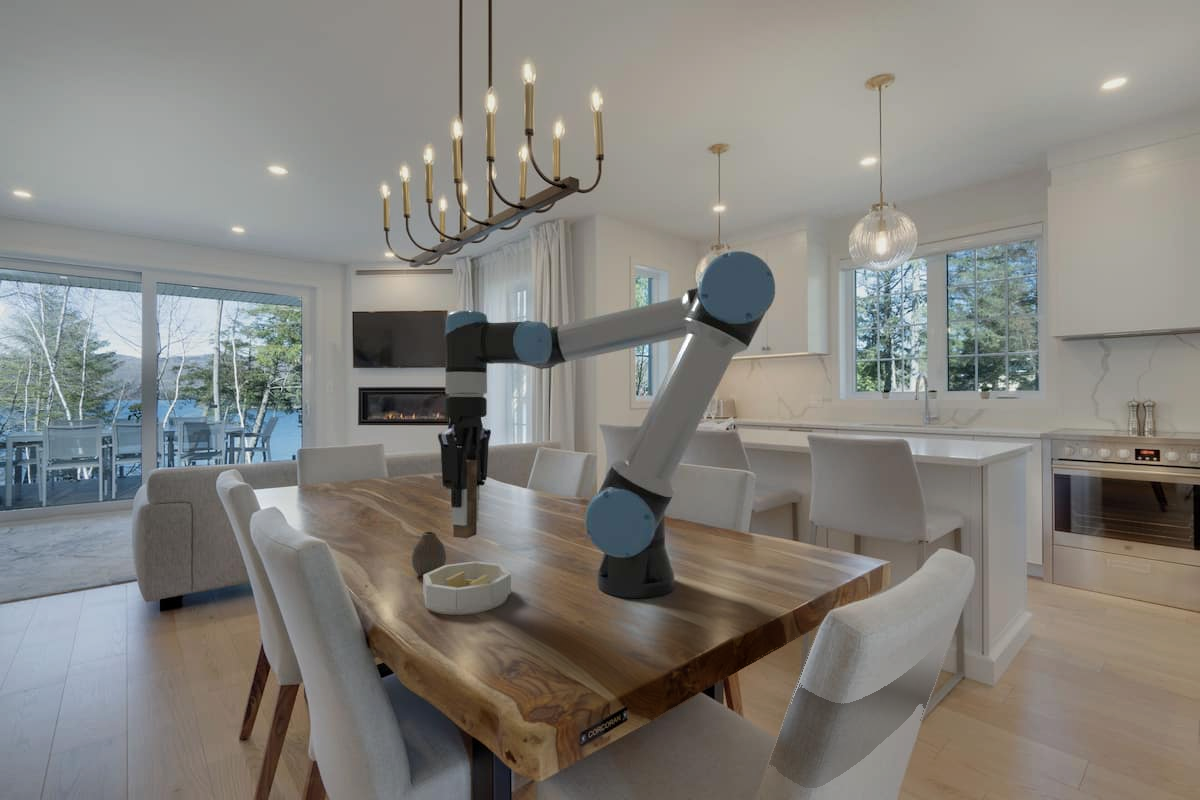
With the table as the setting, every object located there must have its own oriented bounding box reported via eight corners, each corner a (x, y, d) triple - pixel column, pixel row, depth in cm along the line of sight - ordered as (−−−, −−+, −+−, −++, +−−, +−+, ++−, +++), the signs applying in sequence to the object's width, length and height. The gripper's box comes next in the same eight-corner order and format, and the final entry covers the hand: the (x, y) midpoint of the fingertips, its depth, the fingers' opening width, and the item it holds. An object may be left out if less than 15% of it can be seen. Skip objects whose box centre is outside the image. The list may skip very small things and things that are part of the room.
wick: (463, 533, 102) (463, 459, 102) (476, 534, 101) (476, 459, 100) (453, 536, 99) (453, 460, 99) (467, 538, 98) (467, 461, 98)
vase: (435, 580, 110) (435, 537, 110) (405, 578, 111) (405, 536, 111) (451, 570, 116) (451, 529, 117) (422, 568, 118) (422, 528, 118)
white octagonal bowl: (522, 590, 104) (522, 567, 104) (478, 620, 90) (478, 593, 90) (458, 581, 109) (458, 559, 109) (406, 607, 95) (406, 582, 95)
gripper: (474, 396, 108) (473, 512, 108) (420, 395, 93) (419, 530, 94) (506, 396, 106) (505, 515, 106) (456, 395, 91) (455, 534, 91)
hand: (465, 522), depth 100 cm, fingers closed on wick, 3 cm apart
